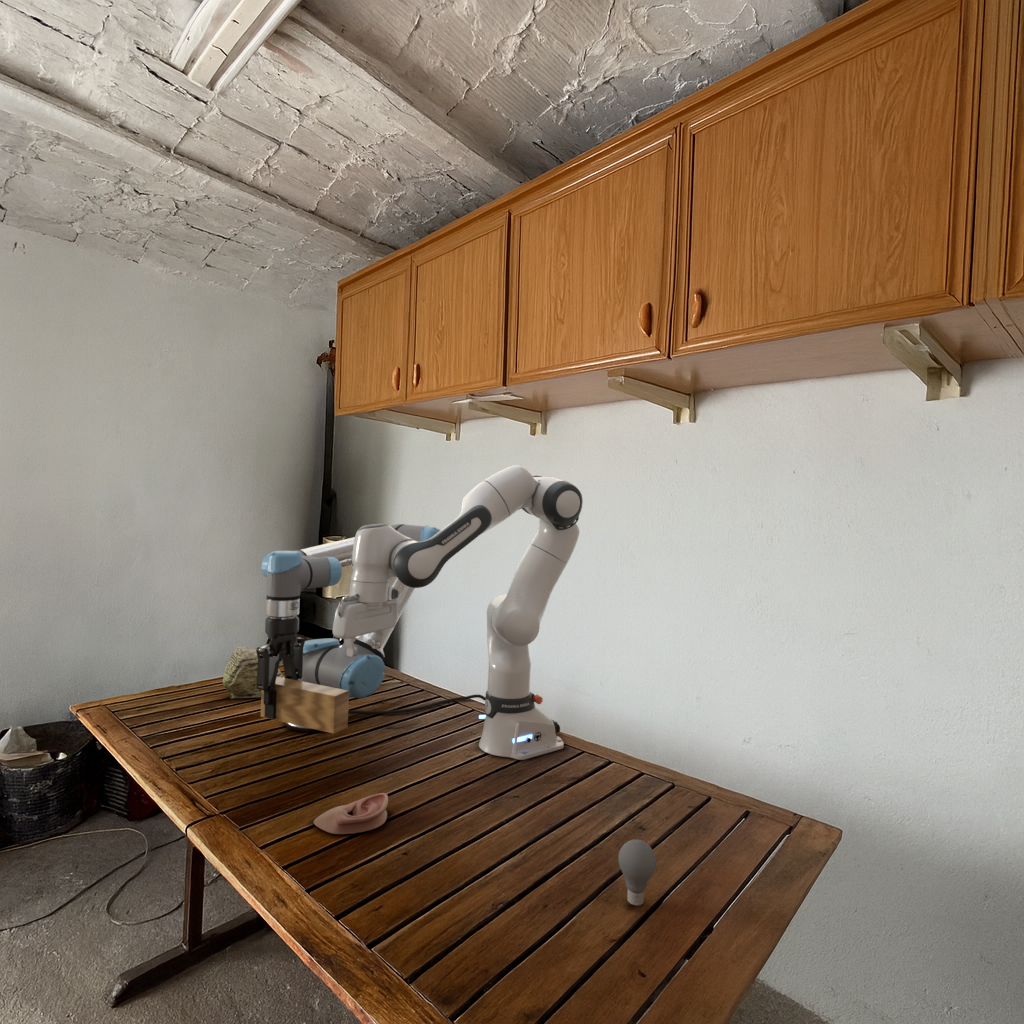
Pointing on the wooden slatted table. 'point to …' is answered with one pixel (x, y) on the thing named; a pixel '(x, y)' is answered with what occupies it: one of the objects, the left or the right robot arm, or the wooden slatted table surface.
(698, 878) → the wooden slatted table surface
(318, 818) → the anatomical model
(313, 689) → the bar
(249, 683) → the fossil
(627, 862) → the light bulb
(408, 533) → the left robot arm
